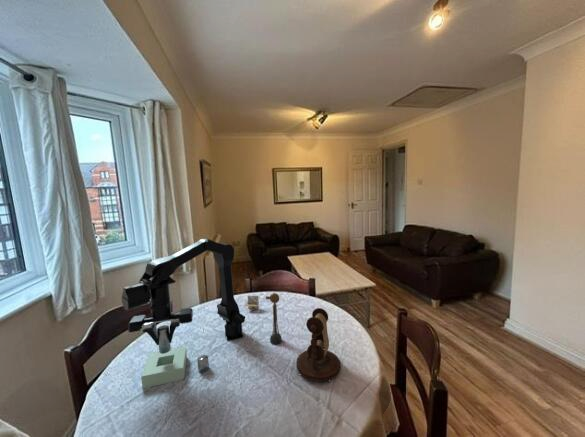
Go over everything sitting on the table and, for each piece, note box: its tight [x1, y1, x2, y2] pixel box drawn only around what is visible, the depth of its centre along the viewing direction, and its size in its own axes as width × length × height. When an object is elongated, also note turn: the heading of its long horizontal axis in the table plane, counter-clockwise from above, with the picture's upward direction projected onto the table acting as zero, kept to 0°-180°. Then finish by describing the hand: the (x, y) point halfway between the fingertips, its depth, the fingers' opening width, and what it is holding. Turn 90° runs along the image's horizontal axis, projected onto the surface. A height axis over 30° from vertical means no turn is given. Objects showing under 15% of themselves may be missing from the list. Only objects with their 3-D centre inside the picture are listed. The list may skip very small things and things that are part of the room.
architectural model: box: [243, 295, 260, 311], centre depth 133 cm, size 3×7×7 cm, turn 85°
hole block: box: [141, 346, 188, 389], centre depth 89 cm, size 12×12×4 cm
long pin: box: [157, 324, 172, 354], centre depth 88 cm, size 4×4×8 cm
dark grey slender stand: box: [265, 292, 283, 346], centre depth 104 cm, size 6×5×20 cm
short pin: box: [196, 354, 210, 374], centre depth 90 cm, size 4×4×4 cm
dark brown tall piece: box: [295, 307, 342, 382], centre depth 87 cm, size 15×15×20 cm
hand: (164, 343), depth 88 cm, fingers closed on long pin, 3 cm apart
